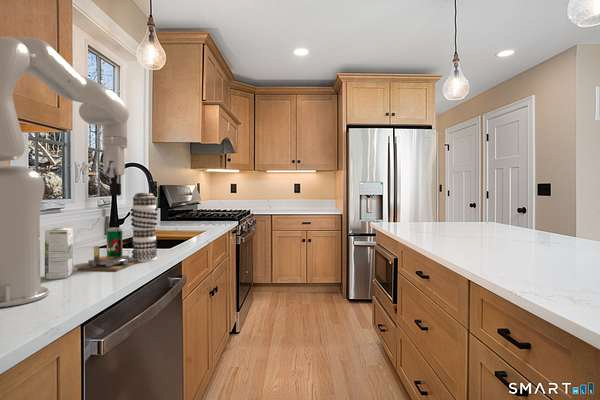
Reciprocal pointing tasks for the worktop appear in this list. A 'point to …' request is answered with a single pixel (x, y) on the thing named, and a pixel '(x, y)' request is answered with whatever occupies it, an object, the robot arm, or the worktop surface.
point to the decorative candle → (144, 227)
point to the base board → (104, 268)
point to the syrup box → (58, 253)
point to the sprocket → (108, 259)
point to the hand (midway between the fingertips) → (115, 195)
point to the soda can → (114, 241)
